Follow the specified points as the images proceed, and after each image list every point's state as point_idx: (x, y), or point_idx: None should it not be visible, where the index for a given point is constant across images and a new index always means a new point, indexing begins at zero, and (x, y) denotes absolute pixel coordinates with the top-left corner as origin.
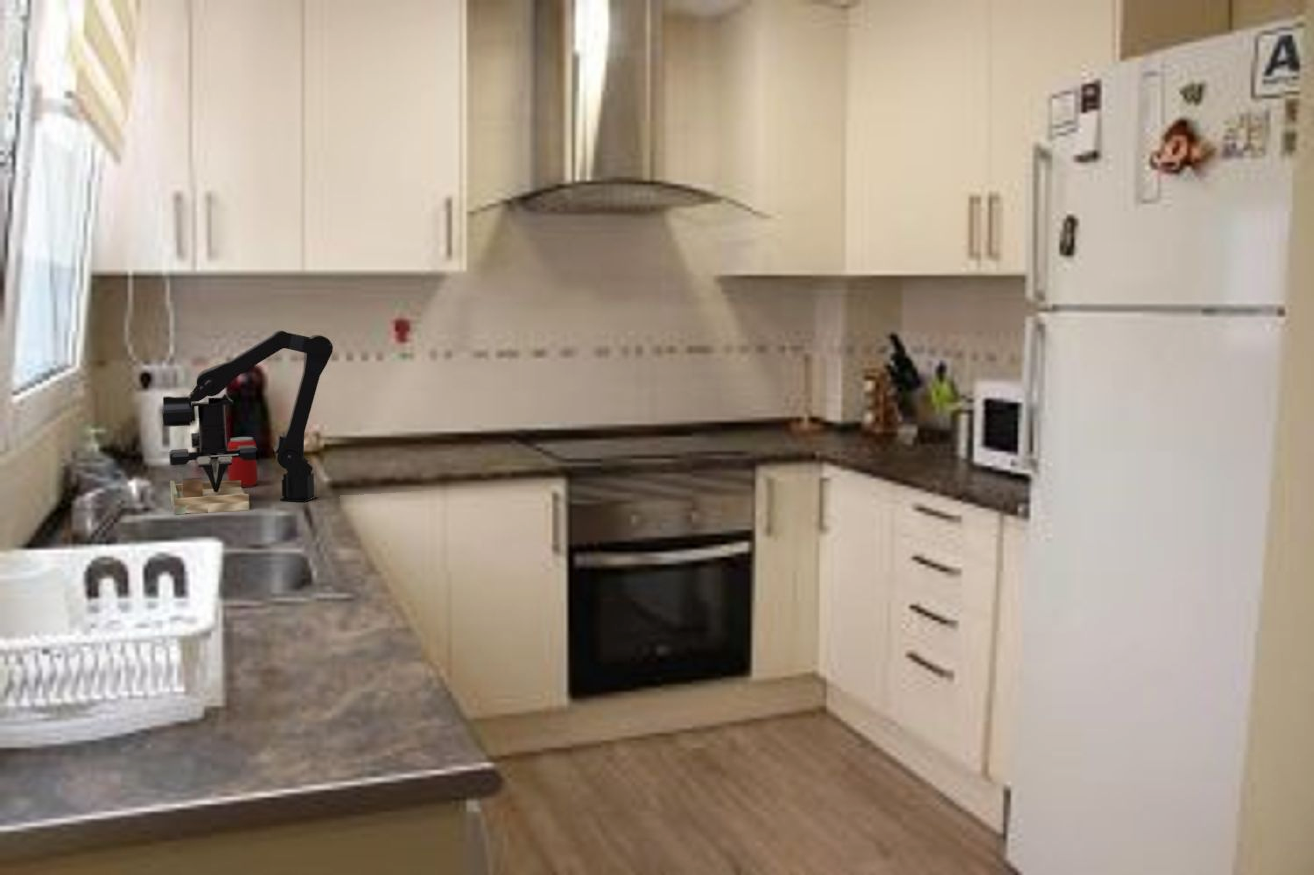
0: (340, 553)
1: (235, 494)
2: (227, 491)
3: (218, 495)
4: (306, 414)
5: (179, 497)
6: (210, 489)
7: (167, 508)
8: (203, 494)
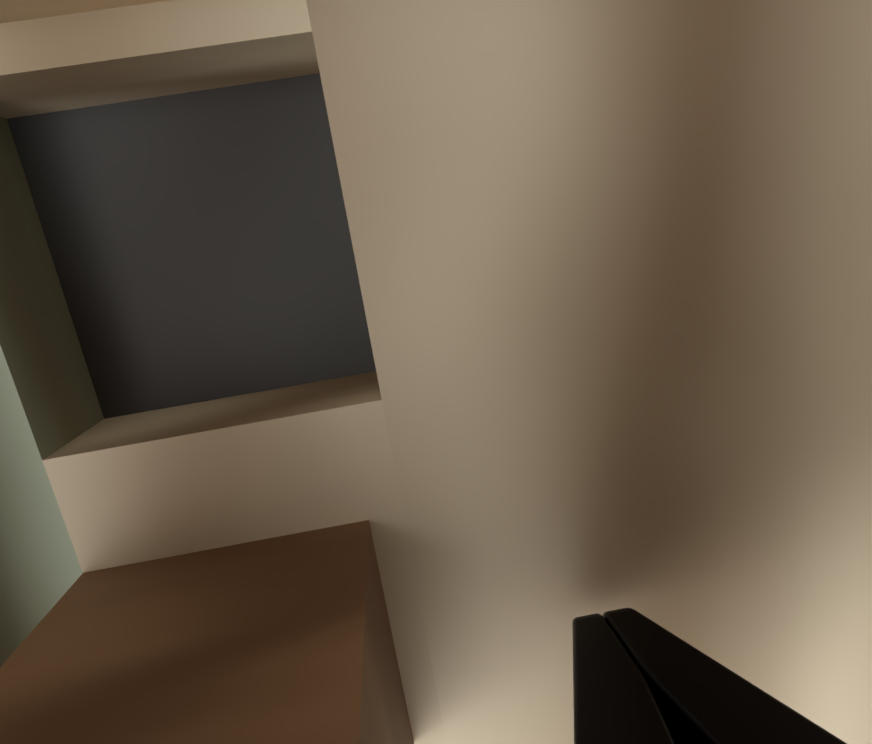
0: None
1: (835, 575)
2: (749, 309)
3: None
4: None
5: None
6: (465, 33)
7: None
8: (392, 511)
